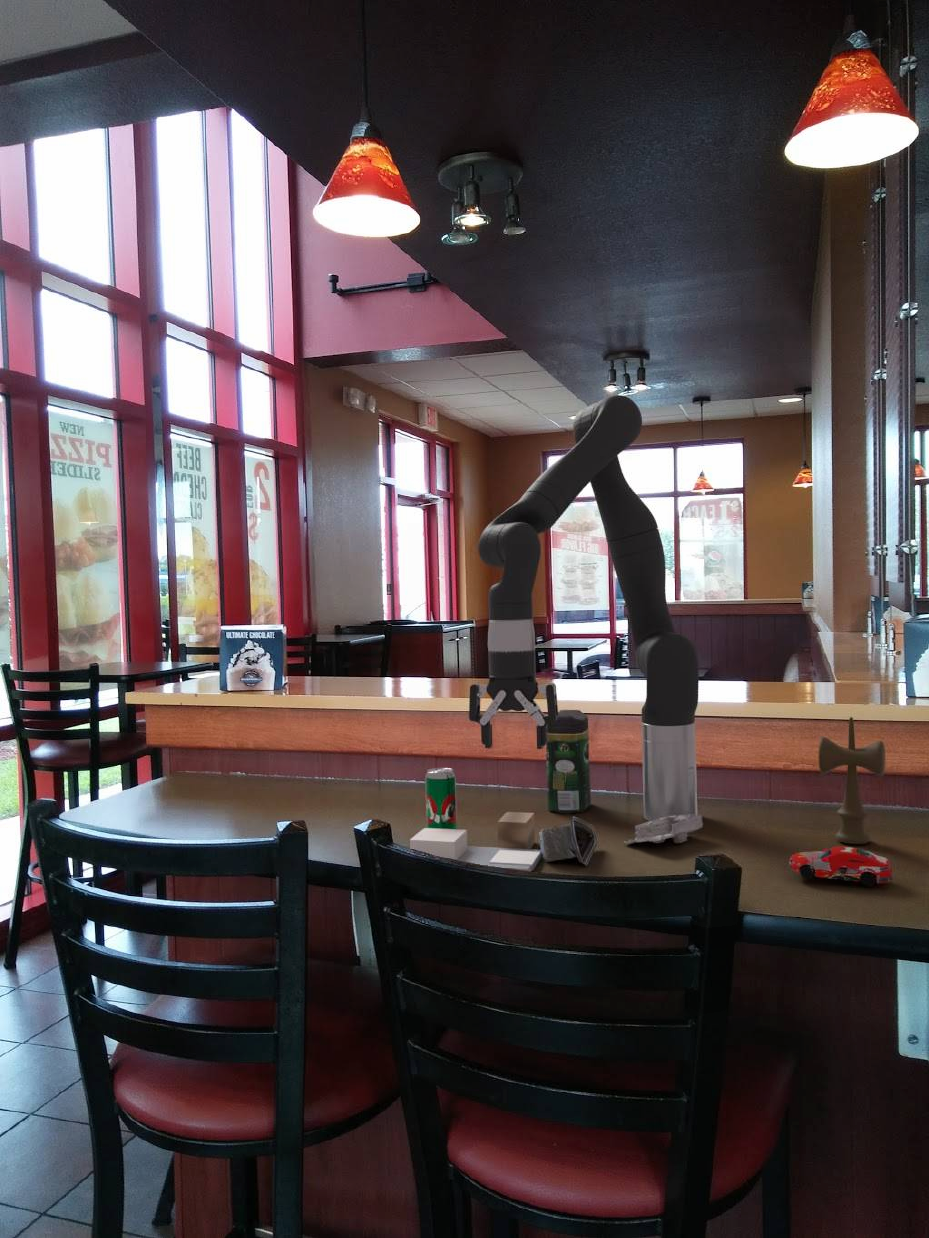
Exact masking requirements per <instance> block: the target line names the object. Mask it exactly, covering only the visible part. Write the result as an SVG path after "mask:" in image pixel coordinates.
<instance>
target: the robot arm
mask: <svg viewBox="0 0 929 1238" xmlns="http://www.w3.org/2000/svg"><path fill="white" fill-rule="evenodd" d="M642 426H643V418H642V413H641V410H640V408H639V406H638V404H636V402H635V401H634V400H633V399H631V398H630V397H628V396H626V395H621V394H618V395H611V396H607V397H605V398H603V399H600V400H598V401H596V402H594V403H591V404H590V405H588V406H586V407H584V408H582V409H581V410H580V411H577V413H576V415H575V416H574V420H573V423H572V427H573V429H572V430H573V438H574V442H575V445H574V446H573V447H572V448H571V449H570V450H569V451H567V453H566V452H565V453H566V454H564V455H563V456H562V457H560V458H559V459H558V460H556V461H555V462H554V463H553V464H551V466H549V467H548V468H546V470H545V471H543V472H542V473H541V475H539V476H538V478H536V480H535V481H534V482H533V483H532V484H531V485H530V486H529V487H528V489H527V490H526V491H525V492H524V494H523V495H522V496H521V497H520V499H519V500H518V501H516V503H514V504H513V505H511V506H510V507H508V508H507V509H506V510H504V512H502V513H501V514H499V515H498V516H497V517H495V518H494V519H493V521H491V522H490V523H489V524H488V525H487V526H486V527H485V528H484V530H483V531H482V532H481V535H480V537H479V541H478V545H477V546H478V547H477V549H478V554H479V558H480V559H481V561H482V562H483V563H484V564H486V565H487V566H489V567H491V568H497V569H502V568H503V572H502V576H501V579H500V581H499V582H498V583H497V582H496V583H495V584H493V585H492V586H490V588H489V591H488V630H487V631H488V632H487V648H488V654H487V655H488V679H489V680H488V683H487V684H481V683H478V682H477V683H476V682H475V683H473V684H471V685H470V687H469V700H468V701H469V703H468V704H469V706H468V709H469V710H468V719H469V721H471V722H475V723H477V724H479V725H480V735H481V744H482V745H484V747H485V749H491V748H493V724H492V723H491V721H492V719H493V718H494V717H495V716H496V714H497V713H498V712H499V711H502V712H510V711H514V712H523V711H526V712H527V714H528V715H529V716H531V717H532V719H533V720H534V721H535V723H536V724H537V725H536V726H535V727H536V728H535V729H536V749H537V750H543V749H544V748H545V747H546V744H547V741H548V740H547V725H548V723H551V722H554V721H555V720H557V719H558V712H559V707H558V706H559V705H558V696H557V695H558V694H557V685H556V684H555V683H554V682H550V683H549V684H538V681H537V676H536V675H537V674H536V673H537V672H536V638H535V628H534V619H533V615H534V613H533V590H534V586H535V583H536V578H537V575H538V569H539V565H540V561H541V552H542V551H541V541H540V537H539V534H542V533H545V532H547V531H549V530H550V529H551V528H552V527H553V526H554V525H555V524H556V523H557V521H558V520H559V519H560V518H561V516H562V515H563V514H564V513H565V512H566V510H567V509H568V508H569V507H570V505H571V504H572V503H573V502H574V501H575V500H576V498H577V497H578V496H579V495H580V493H581V492H582V491H583V490H584V489H585V488H586V487H587V486H588V485H589V484H590V486H591V489H592V491H593V494H594V498H595V502H596V504H597V505H596V506H597V508H598V512H599V516H600V519H601V522H602V523H601V524H602V526H603V530H604V535H605V540H606V543H607V547H608V551H609V554H610V557H611V561H612V565H613V568H614V571H615V576H616V579H617V581H618V582H617V583H618V586H619V589H620V592H621V595H622V598H623V601H624V603H625V604H624V605H625V607H626V610H627V613H628V618H629V626H630V630H631V636H632V637H631V638H632V644H633V652H634V656H635V657H634V658H635V662H636V665H637V667H638V669H639V670H640V672H641V673H642V675H643V676H644V677H646V698H645V702H644V704H643V706H642V707H641V745H642V746H641V749H642V750H641V751H642V752H641V754H642V794H643V796H642V797H643V798H642V799H643V805H642V806H643V818H644V819H645V820H646V821H647V822H649V821H653V820H658V819H659V818H663V817H666V816H673V815H688V814H689V815H691V814H696V815H698V789H697V788H698V785H697V783H698V781H697V780H698V779H697V777H698V776H697V761H696V724H695V723H696V717H695V716H696V711H697V708H698V705H699V704H698V703H699V683H700V682H699V678H700V677H699V675H700V673H699V657H698V652H697V649H696V646H695V644H694V643H693V642H692V641H691V639H689V638H688V637H687V636H685V635H683V634H681V633H677V632H676V629H675V626H674V623H673V621H672V617H671V615H670V611H669V607H668V602H667V595H666V579H667V577H666V573H667V572H666V569H667V568H666V557H665V551H664V550H665V549H664V545H663V542H662V537H661V534H660V531H659V526H658V524H657V520H656V518H655V516H654V515H653V513H652V510H650V509H649V507H648V506H647V505H646V504H645V502H644V501H643V500H642V499H641V498H640V497H639V495H638V494H637V493H636V492H635V491H634V490H633V489H632V487H631V486H630V484H629V483H628V481H627V480H626V478H625V475H624V473H623V471H622V470H623V469H622V467H621V463H620V460H619V456H618V455H619V454H621V453H622V452H623V451H625V449H627V448H628V447H629V446H631V445H632V444H633V443H634V442H635V441H636V440H637V439H638V437H639V436H640V434H641V431H642V428H643V427H642ZM539 692H540V693H541V695H542V698H544V699H546V706H547V715H545V713H544V712H543V711H542V710H541V707H540V706H539V705H538V703H537V702H536V701H535V700H534V699H535V698H536V696H537V695H538V694H539ZM485 693H486V694H487V695H489V697H490V698H491V700H492V702H491V703H490V704H489V706H488V708H487V709H486V710H485V712H484V714H481V698H482V697H484V695H485Z"/></svg>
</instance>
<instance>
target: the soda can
mask: <svg viewBox="0 0 929 1238" xmlns="http://www.w3.org/2000/svg"><path fill="white" fill-rule="evenodd" d="M426 772H427V773H426V774H425V778H424V780H425V781H424V783H425V785H424V786H425V814H426V815H425V816H426V819H425V820H426V828H436V829H458V820H457V819H458V815H457V813H458V812H457V785H456V781H457V780H456V775H455V773H454V769H453V768H450V767H449V768H448V767H435V768H430V769H427V771H426Z"/></svg>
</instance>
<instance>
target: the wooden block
mask: <svg viewBox="0 0 929 1238" xmlns="http://www.w3.org/2000/svg"><path fill="white" fill-rule="evenodd" d="M505 812H506V813H504V814H503V815H502V817H501V818H499V820H498V821H497V843H498V845H497V848H515V849H532V848H533V846H534V845H535V843H536V837H535V836H536V834H535V833H536V832H535V831H536V830H535V813H534V812H521V811H520V812H515V811H514V812H513V811H505Z"/></svg>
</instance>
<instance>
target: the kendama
mask: <svg viewBox="0 0 929 1238" xmlns="http://www.w3.org/2000/svg"><path fill="white" fill-rule="evenodd" d="M855 736H856V735H855V723H854V717H852V716H851V717H849V720H848V742H847V743H848V745H847V747H845V746H844V747H843V746H841V745H838V744H837V743H835V742H833V740H831V739H829V738H827V737H825V736H822V737H821V738H820V740H819V744H818V766H819V772H820V773H821V775H825V774H828V773H830V772H831V771H833V770H835V769H837V768H839V767H843V766H847V770H846V771H847V772H846V782H845V789H844V796H843V801H842V805H841V807H840V808H838V809H837V810H836V812H837V815H838V816H839V818H840V827H839V830H838V832H837V833H836V834H835V839H836V840H837V841H839V842H841V843H843V844H848V845H865V844H868V843H870V841H871V840H872V839H871V836H870V835H869V834H868V833H867V831H866V826H865V824H866V823H865V822H866V821H865V820H866V818H867V817H868V816H869V811H867V810H866V809H865V808H864V806H863V802H862V798H861V792H860V786H859V785H860V784H859V777H858V770H857V769H858V768H857V767H859V768H860V767H861V768H863V769H865V770H867V771H869V772H871V773H872V774H874V775H876V776H878V777H882V776H884V774H885V770H886V748H885V744H884V742H883V741H882V740H879V741H875V742H873V743H871V744H869V745H867V746H864V747H858V748H857V747H856V738H855Z"/></svg>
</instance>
